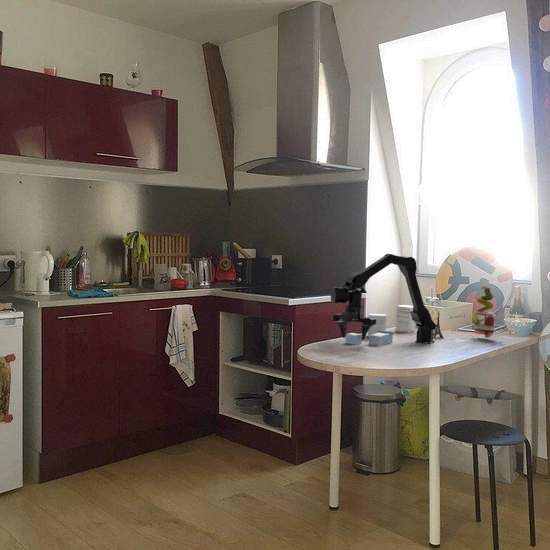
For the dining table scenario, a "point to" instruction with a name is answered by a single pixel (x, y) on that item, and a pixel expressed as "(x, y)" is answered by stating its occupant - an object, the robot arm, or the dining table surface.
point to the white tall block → (404, 319)
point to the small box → (377, 323)
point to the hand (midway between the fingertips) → (353, 339)
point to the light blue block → (353, 338)
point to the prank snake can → (484, 314)
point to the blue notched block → (381, 338)
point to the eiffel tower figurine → (438, 332)
